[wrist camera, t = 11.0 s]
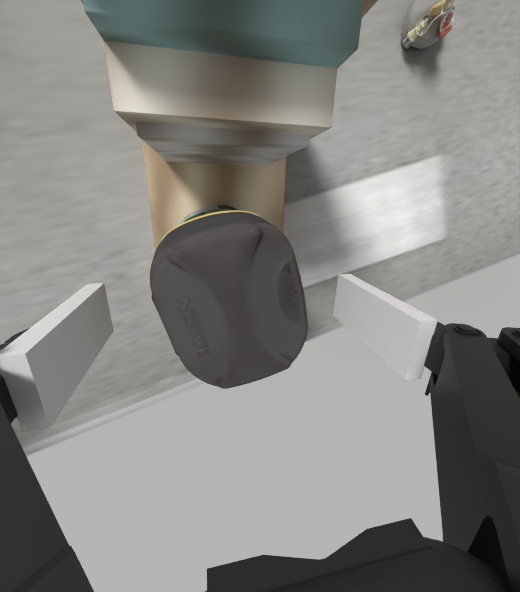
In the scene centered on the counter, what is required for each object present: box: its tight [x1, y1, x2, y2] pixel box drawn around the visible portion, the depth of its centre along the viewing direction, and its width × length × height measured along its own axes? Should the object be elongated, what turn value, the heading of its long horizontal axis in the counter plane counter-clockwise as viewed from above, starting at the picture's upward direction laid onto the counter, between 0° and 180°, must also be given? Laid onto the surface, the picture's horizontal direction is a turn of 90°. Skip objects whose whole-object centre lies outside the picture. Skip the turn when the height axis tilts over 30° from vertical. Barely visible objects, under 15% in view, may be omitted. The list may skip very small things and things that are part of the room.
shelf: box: [81, 0, 377, 251], centre depth 20 cm, size 14×22×22 cm, turn 179°
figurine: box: [401, 0, 455, 49], centre depth 25 cm, size 5×4×6 cm
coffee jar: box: [150, 205, 308, 388], centre depth 21 cm, size 10×8×19 cm
